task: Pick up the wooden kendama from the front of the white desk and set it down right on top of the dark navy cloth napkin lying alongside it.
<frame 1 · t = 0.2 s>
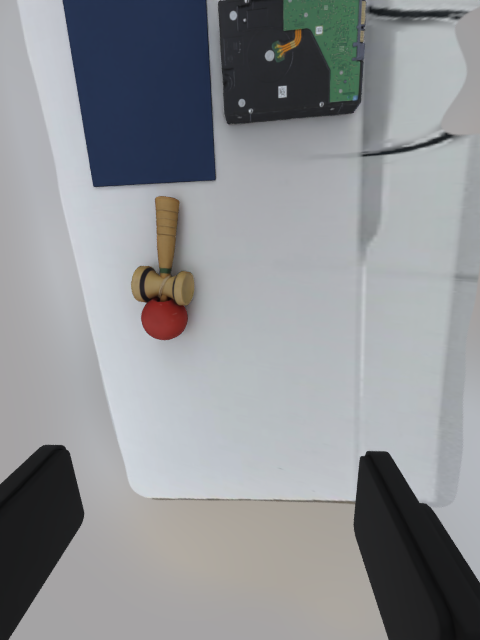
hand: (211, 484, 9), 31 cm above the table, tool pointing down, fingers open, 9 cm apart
disk drive: (288, 69, 31), on the table
kendama: (171, 269, 38), on the table
napkin: (143, 91, 33), on the table
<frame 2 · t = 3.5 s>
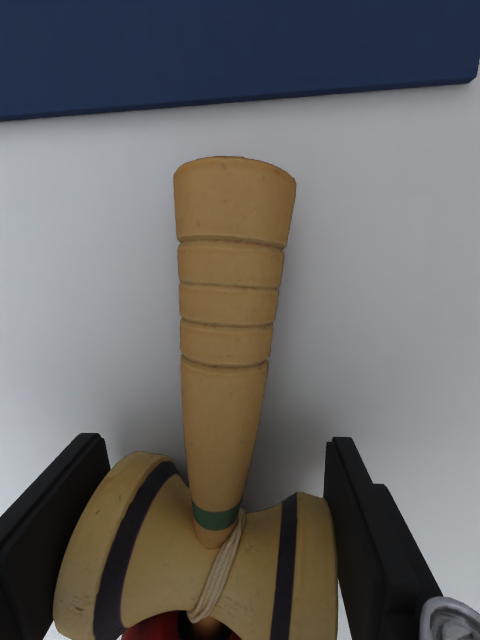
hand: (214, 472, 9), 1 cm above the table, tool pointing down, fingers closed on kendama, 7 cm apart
kendama: (223, 438, 11), on the table, touching gripper
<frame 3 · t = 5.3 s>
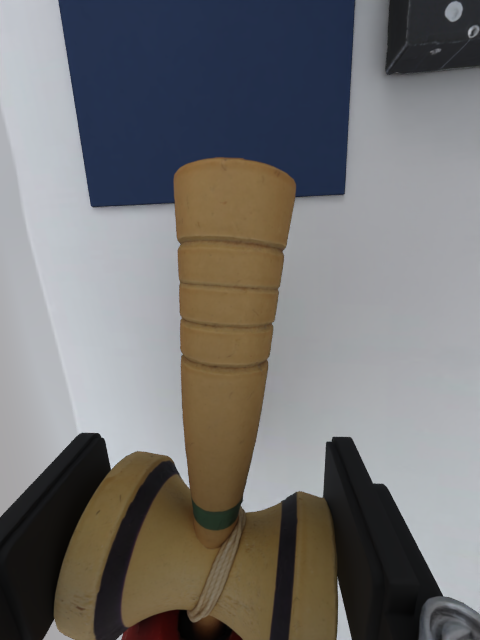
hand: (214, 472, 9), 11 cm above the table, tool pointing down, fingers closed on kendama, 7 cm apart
kendama: (223, 438, 11), point 9 cm above the table, touching gripper
napkin: (203, 3, 15), on the table
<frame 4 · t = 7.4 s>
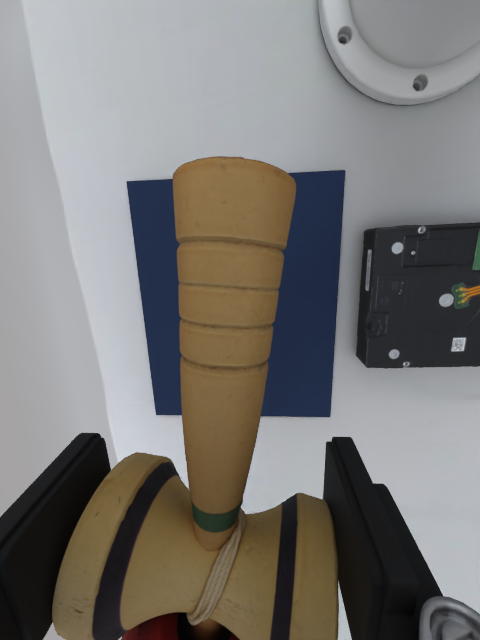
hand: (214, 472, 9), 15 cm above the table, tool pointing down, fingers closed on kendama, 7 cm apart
disk drive: (453, 292, 22), on the table
kendama: (223, 439, 11), point 13 cm above the table, touching gripper
napkin: (237, 308, 23), on the table
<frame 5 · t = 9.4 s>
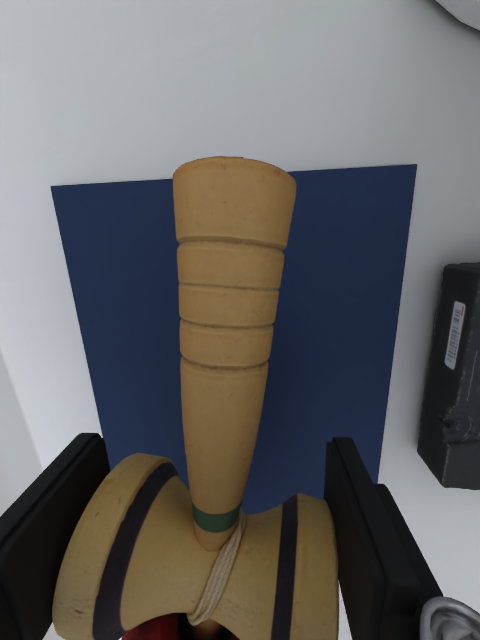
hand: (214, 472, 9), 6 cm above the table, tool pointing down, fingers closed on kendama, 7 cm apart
kendama: (223, 439, 11), point 4 cm above the table, touching gripper
napkin: (234, 380, 15), on the table
when the fingers open (2 cm above the table, at t = 11.1 s): kendama stays where it is, resting on napkin.
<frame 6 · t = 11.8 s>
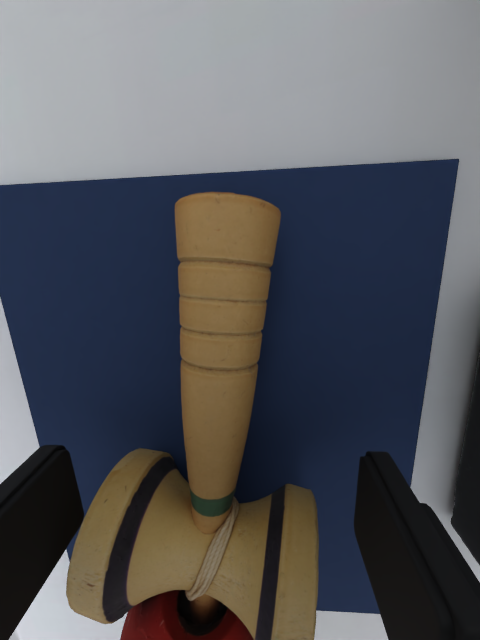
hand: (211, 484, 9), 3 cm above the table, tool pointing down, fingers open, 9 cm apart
kendama: (219, 436, 12), resting on napkin
napkin: (218, 433, 12), on the table
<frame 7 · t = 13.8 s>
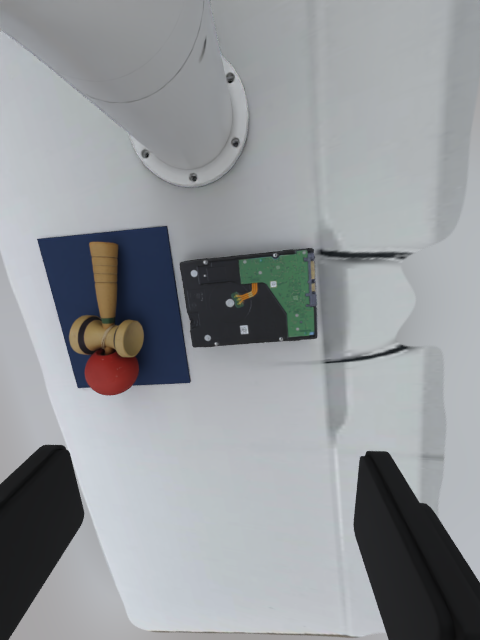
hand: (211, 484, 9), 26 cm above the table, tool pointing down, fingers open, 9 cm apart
disk drive: (250, 296, 34), on the table
kendama: (118, 315, 35), resting on napkin
napkin: (118, 314, 35), on the table
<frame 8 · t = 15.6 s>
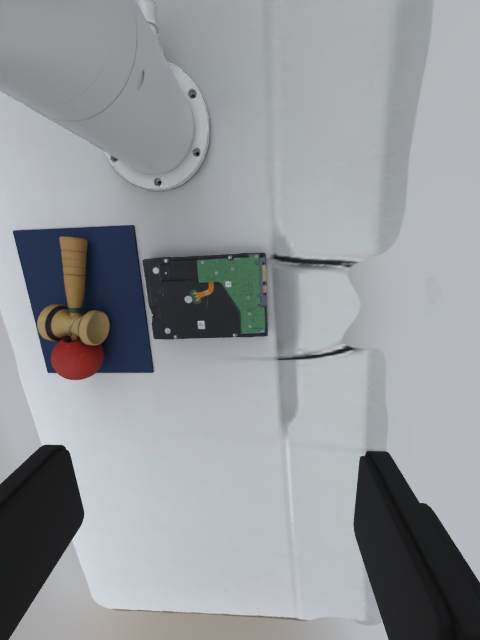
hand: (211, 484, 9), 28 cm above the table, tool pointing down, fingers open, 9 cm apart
disk drive: (210, 294, 36), on the table
kendama: (87, 305, 38), resting on napkin
napkin: (87, 305, 38), on the table
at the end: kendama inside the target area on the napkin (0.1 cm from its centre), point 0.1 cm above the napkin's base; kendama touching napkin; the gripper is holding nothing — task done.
